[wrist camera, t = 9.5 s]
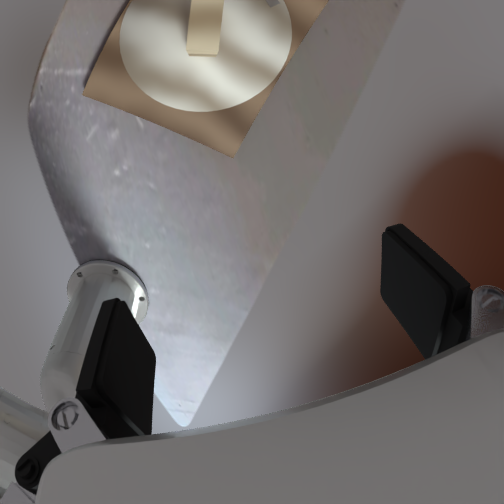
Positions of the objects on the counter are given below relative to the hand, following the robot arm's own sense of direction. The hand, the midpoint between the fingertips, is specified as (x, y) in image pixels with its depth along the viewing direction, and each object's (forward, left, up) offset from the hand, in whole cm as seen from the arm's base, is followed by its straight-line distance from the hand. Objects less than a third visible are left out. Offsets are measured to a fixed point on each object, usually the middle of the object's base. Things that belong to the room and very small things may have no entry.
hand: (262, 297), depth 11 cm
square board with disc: (+11, +8, -28) cm, 31 cm away
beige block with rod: (+14, +9, -26) cm, 31 cm away
